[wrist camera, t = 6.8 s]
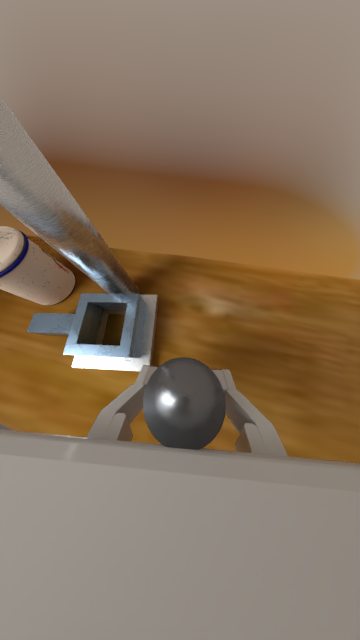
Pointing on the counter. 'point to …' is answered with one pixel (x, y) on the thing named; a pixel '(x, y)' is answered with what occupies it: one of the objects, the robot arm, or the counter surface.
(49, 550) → the robot arm
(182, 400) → the dark grey rounded rod
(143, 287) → the counter surface
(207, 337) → the counter surface
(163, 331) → the counter surface
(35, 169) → the box with upright lever
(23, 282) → the teacup with lid
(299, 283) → the counter surface
